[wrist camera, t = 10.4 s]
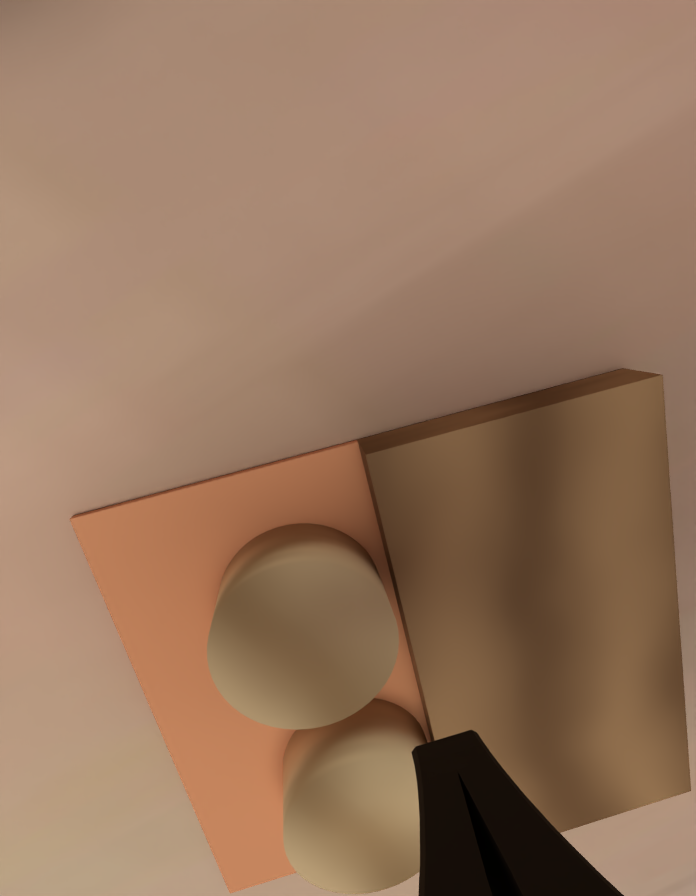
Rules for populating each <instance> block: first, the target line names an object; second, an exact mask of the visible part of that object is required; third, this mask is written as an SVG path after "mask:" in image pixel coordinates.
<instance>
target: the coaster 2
mask: <svg viewBox="0 0 696 896" xmlns="http://www.w3.org/2000/svg"><path fill="white" fill-rule="evenodd" d="M425 743H428V742H427V739H426V736H425V734H424V731H423V729H422V727H421V725H420V723H419V722H418V721H417V720H416V718H415V717H414V716H413V715H412V714H411V713H409V712H408V711H407V710H405V709H404V708H402V707H401V706H399V705H397V704H395V703H392V702H389V701H386V700H381V699H376V698H373V699H372V700H371V701H370V702H369V703H368V704H367V705H365V706H364V707H363V708H362V709H360V710H359V711H357V712H356V713H354V714H353V715H351V716H349V717H347V718H345V719H343V720H341V721H338V722H335V723H333V724H330V725H326V726H322V727H318V728H311V729H299V730H296V731H295V732H294V733H293V735H292V737H291V738H290V740H289V742H288V744H287V747H286V750H285V754H284V758H283V842H284V849H285V852H286V856H287V858H288V860H289V862H290V864H291V865H292V867H293V868H294V869H295V871H296V872H297V873H298V874H299V875H300V876H301V877H302V878H304V879H305V880H307V881H308V882H309V883H311V884H313V885H315V886H317V887H319V888H322V889H325V890H328V891H332V892H336V893H344V894H363V893H371V892H376V891H380V890H384V889H387V888H390V887H392V886H395V885H398V884H400V883H402V882H404V881H406V880H407V879H409V878H411V877H412V876H414V875H415V874H417V873H418V872H419V871H420V817H419V800H418V788H417V779H416V772H415V766H414V761H413V757H412V753H411V752H412V751H413V749H414V748H415V746H419V745H422V744H425Z"/></svg>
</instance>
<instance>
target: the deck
mask: <svg viewBox="0 0 696 896" xmlns="http://www.w3.org/2000/svg"><path fill="white" fill-rule="evenodd" d="M357 441H358V445H359V449H360V453H361V457H362V461H363V465H364V469H365V473H366V477H367V481H368V485H369V490H370V494H371V498H372V502H373V506H374V510H375V514H376V518H377V522H378V526H379V530H380V534H381V538H382V543H383V547H384V551H385V555H386V559H387V563H388V567H389V571H390V575H391V579H392V583H393V587H394V591H395V596H396V600H397V604H398V608H399V612H400V616H401V620H402V624H403V628H404V632H405V636H406V640H407V644H408V649H409V653H410V657H411V661H412V665H413V669H414V673H415V677H416V681H417V685H418V689H419V693H420V697H421V702H422V706H423V710H424V714H425V718H426V722H427V726H428V730H429V734H430V738H431V742H432V741H435V740H438V739H442V738H445V737H448V736H452V735H455V734H458V733H462V732H465V731H468V730H473V731H475V732H477V733H478V734H479V736H480V738H481V739H482V741H483V742H484V743H485V745H486V746H487V748H488V749H489V751H490V752H491V753H492V755H493V756H494V757H495V759H496V760H497V761H498V762H499V764H500V765H501V766H502V768H503V769H504V770H505V771H506V773H507V774H508V775H509V776H510V777H511V779H512V780H513V781H514V782H515V784H516V785H517V786H518V787H519V788H520V790H521V791H522V792H523V793H524V794H525V795H526V796H527V798H528V799H529V800H530V801H531V802H532V803H533V804H534V805H535V807H536V808H537V809H538V810H539V811H540V812H541V813H542V814H543V815H544V816H545V818H546V819H547V820H548V821H549V822H550V823H551V824H552V825H553V826H554V827H555V828H556V830H557V831H558V832H559V833H561V832H564V831H567V830H570V829H573V828H576V827H579V826H583V825H586V824H589V823H592V822H595V821H598V820H601V819H604V818H608V817H611V816H614V815H617V814H620V813H623V812H626V811H629V810H633V809H636V808H639V807H642V806H645V805H648V804H651V803H655V802H658V801H661V800H664V799H667V798H670V797H673V796H676V795H680V794H683V793H686V792H689V791H691V784H690V769H689V754H688V740H687V725H686V711H685V696H684V682H683V667H682V653H681V638H680V624H679V609H678V594H677V580H676V565H675V551H674V536H673V522H672V507H671V493H670V478H669V463H668V449H667V434H666V420H665V405H664V391H663V376H662V375H661V374H654V373H648V372H642V371H636V370H630V369H619V370H615V371H612V372H608V373H604V374H600V375H597V376H593V377H589V378H586V379H582V380H578V381H574V382H571V383H567V384H563V385H559V386H556V387H552V388H548V389H545V390H541V391H537V392H533V393H530V394H526V395H522V396H518V397H515V398H511V399H507V400H504V401H500V402H496V403H492V404H489V405H485V406H481V407H477V408H474V409H470V410H466V411H462V412H459V413H455V414H451V415H448V416H444V417H440V418H436V419H433V420H429V421H425V422H421V423H418V424H414V425H410V426H407V427H403V428H399V429H395V430H392V431H388V432H384V433H380V434H377V435H373V436H369V437H365V438H362V439H358V440H357Z"/></svg>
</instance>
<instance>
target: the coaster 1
mask: <svg viewBox="0 0 696 896" xmlns="http://www.w3.org/2000/svg"><path fill="white" fill-rule="evenodd" d="M398 647H399V633H398V627H397V622H396V618H395V616H394V613H393V610H392V608H391V605H390V602H389V600H388V597H387V594H386V592H385V589H384V586H383V584H382V581H381V578H380V576H379V573H378V570H377V568H376V565H375V563H374V561H373V560H372V558H371V556H370V555H369V554H368V552H367V551H366V550H365V549H364V548H363V547H362V546H361V545H360V544H359V543H358V542H357V541H356V540H354V539H353V538H352V537H350V536H349V535H347V534H345V533H343V532H341V531H339V530H336V529H334V528H331V527H328V526H324V525H319V524H311V523H298V524H289V525H285V526H280V527H277V528H274V529H271V530H269V531H266V532H264V533H262V534H260V535H258V536H257V537H255V538H254V539H252V540H251V541H249V542H248V543H247V544H246V545H245V546H243V547H242V548H241V549H240V550H239V551H238V552H237V554H236V555H235V556H234V557H233V558H232V560H231V562H230V563H229V565H228V566H227V568H226V570H225V573H224V575H223V577H222V581H221V584H220V588H219V592H218V597H217V601H216V605H215V610H214V614H213V618H212V623H211V627H210V631H209V635H208V643H207V661H208V666H209V671H210V674H211V677H212V679H213V681H214V683H215V685H216V687H217V689H218V691H219V692H220V693H221V695H222V696H223V698H224V699H225V700H226V701H227V702H228V703H229V704H230V705H231V706H232V707H233V708H235V709H236V710H237V711H239V712H240V713H241V714H243V715H245V716H246V717H248V718H250V719H252V720H254V721H256V722H259V723H261V724H264V725H268V726H271V727H276V728H282V729H294V730H299V729H311V728H318V727H322V726H326V725H330V724H333V723H335V722H338V721H341V720H343V719H345V718H347V717H349V716H351V715H353V714H354V713H356V712H357V711H359V710H360V709H362V708H363V707H364V706H365V705H367V704H368V703H369V702H370V701H371V700H372V699H373V698H374V697H375V696H376V695H377V694H378V693H379V692H380V691H381V689H382V688H383V686H384V685H385V684H386V682H387V680H388V679H389V677H390V675H391V673H392V671H393V668H394V665H395V663H396V659H397V654H398Z"/></svg>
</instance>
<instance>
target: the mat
mask: <svg viewBox="0 0 696 896" xmlns="http://www.w3.org/2000/svg"><path fill="white" fill-rule="evenodd" d="M70 521H71V524H72V526H73V528H74V531H75V533H76V535H77V538H78V540H79V542H80V545H81V547H82V549H83V552H84V554H85V556H86V559H87V561H88V563H89V566H90V568H91V570H92V573H93V575H94V577H95V580H96V582H97V584H98V587H99V589H100V591H101V594H102V596H103V598H104V601H105V603H106V605H107V608H108V610H109V612H110V615H111V617H112V619H113V622H114V624H115V626H116V629H117V631H118V633H119V635H120V638H121V640H122V642H123V645H124V647H125V649H126V652H127V654H128V656H129V659H130V661H131V663H132V666H133V668H134V670H135V673H136V675H137V677H138V680H139V682H140V684H141V687H142V689H143V691H144V694H145V696H146V698H147V701H148V703H149V705H150V708H151V710H152V712H153V715H154V717H155V719H156V722H157V724H158V726H159V729H160V731H161V733H162V736H163V738H164V740H165V743H166V745H167V747H168V750H169V752H170V754H171V757H172V759H173V761H174V764H175V766H176V768H177V771H178V773H179V775H180V778H181V780H182V782H183V785H184V787H185V789H186V792H187V794H188V796H189V799H190V801H191V803H192V806H193V808H194V810H195V813H196V815H197V817H198V820H199V822H200V824H201V827H202V829H203V831H204V834H205V836H206V838H207V841H208V843H209V845H210V848H211V850H212V852H213V855H214V857H215V859H216V862H217V864H218V866H219V869H220V871H221V873H222V876H223V878H224V880H225V883H226V885H227V887H228V890H229V892H230V893H233V892H236V891H239V890H242V889H245V888H249V887H252V886H255V885H258V884H261V883H265V882H268V881H271V880H274V879H277V878H280V877H284V876H287V875H290V874H293V873H296V871H295V869H294V868H293V867H292V865H291V864H290V862H289V860H288V858H287V856H286V852H285V849H284V842H283V758H284V754H285V750H286V747H287V744H288V742H289V740H290V738H291V737H292V735H293V733H294V732H295V731H296V730H294V729H282V728H276V727H271V726H268V725H264V724H261V723H259V722H256V721H254V720H252V719H250V718H248V717H246V716H245V715H243V714H241V713H240V712H239V711H237V710H236V709H235V708H233V707H232V706H231V705H230V704H229V703H228V702H227V701H226V700H225V699H224V698H223V696H222V695H221V693H220V692H219V691H218V689H217V687H216V685H215V683H214V681H213V679H212V677H211V674H210V671H209V666H208V661H207V643H208V635H209V631H210V627H211V623H212V618H213V614H214V610H215V605H216V601H217V597H218V592H219V588H220V584H221V581H222V577H223V575H224V573H225V570H226V568H227V566H228V565H229V563H230V562H231V560H232V558H233V557H234V556H235V555H236V554H237V552H238V551H239V550H240V549H241V548H242V547H243V546H245V545H246V544H247V543H248V542H249V541H251V540H252V539H254V538H255V537H257V536H258V535H260V534H262V533H264V532H266V531H269V530H271V529H274V528H277V527H280V526H285V525H289V524H298V523H311V524H319V525H324V526H328V527H331V528H334V529H336V530H339V531H341V532H343V533H345V534H347V535H349V536H350V537H352V538H353V539H354V540H356V541H357V542H358V543H359V544H360V545H361V546H362V547H363V548H364V549H365V550H366V551H367V552H368V554H369V555H370V556H371V558H372V560H373V561H374V563H375V565H376V568H377V570H378V573H379V576H380V578H381V581H382V584H383V586H384V589H385V592H386V594H387V597H388V600H389V602H390V605H391V608H392V610H393V613H394V616H395V618H396V622H397V627H398V633H399V647H398V654H397V659H396V663H395V665H394V668H393V671H392V673H391V675H390V677H389V679H388V680H387V682H386V684H385V685H384V686H383V688H382V689H381V691H380V692H379V693H378V694H377V695H376V696H375V697H374V698H376V699H381V700H386V701H389V702H392V703H395V704H397V705H399V706H401V707H402V708H404V709H405V710H407V711H408V712H409V713H411V714H412V715H413V716H414V717H415V718H416V720H417V721H418V722H419V723H420V725H421V727H422V729H423V731H424V734H425V736H426V739H427V742H428V743H429V742H431V738H430V734H429V730H428V726H427V722H426V718H425V714H424V710H423V706H422V702H421V697H420V693H419V689H418V685H417V681H416V677H415V673H414V669H413V665H412V661H411V657H410V653H409V649H408V644H407V640H406V636H405V632H404V628H403V624H402V620H401V616H400V612H399V608H398V604H397V600H396V596H395V591H394V587H393V583H392V579H391V575H390V571H389V567H388V563H387V559H386V555H385V551H384V547H383V543H382V538H381V534H380V530H379V526H378V522H377V518H376V514H375V510H374V506H373V502H372V498H371V494H370V490H369V485H368V481H367V477H366V473H365V469H364V465H363V461H362V457H361V453H360V449H359V445H358V441H357V440H354V441H351V442H347V443H343V444H340V445H336V446H332V447H328V448H325V449H321V450H317V451H313V452H310V453H306V454H302V455H298V456H295V457H291V458H287V459H284V460H280V461H276V462H272V463H269V464H265V465H261V466H257V467H254V468H250V469H246V470H243V471H239V472H235V473H231V474H228V475H224V476H220V477H216V478H213V479H209V480H205V481H202V482H198V483H194V484H190V485H187V486H183V487H179V488H175V489H172V490H168V491H164V492H160V493H157V494H153V495H149V496H146V497H142V498H138V499H134V500H131V501H127V502H123V503H119V504H116V505H112V506H108V507H105V508H101V509H97V510H93V511H90V512H86V513H82V514H78V515H75V516H73V517H72V518H71V519H70Z"/></svg>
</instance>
